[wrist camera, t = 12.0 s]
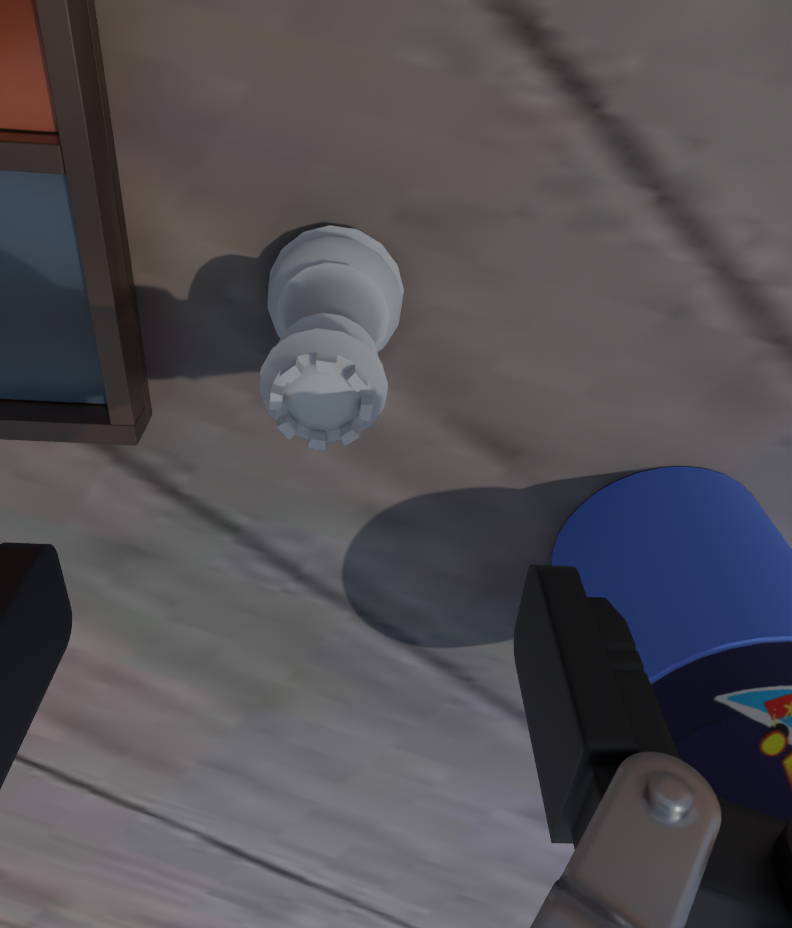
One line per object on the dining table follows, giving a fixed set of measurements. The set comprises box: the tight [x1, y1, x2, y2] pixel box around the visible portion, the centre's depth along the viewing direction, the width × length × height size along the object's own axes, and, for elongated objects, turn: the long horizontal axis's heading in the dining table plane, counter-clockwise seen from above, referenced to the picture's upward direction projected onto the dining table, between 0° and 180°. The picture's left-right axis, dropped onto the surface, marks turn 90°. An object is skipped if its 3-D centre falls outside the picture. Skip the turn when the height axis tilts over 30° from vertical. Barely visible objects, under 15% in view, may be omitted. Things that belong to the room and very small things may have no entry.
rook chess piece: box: [259, 225, 404, 450], centre depth 21 cm, size 4×4×8 cm
